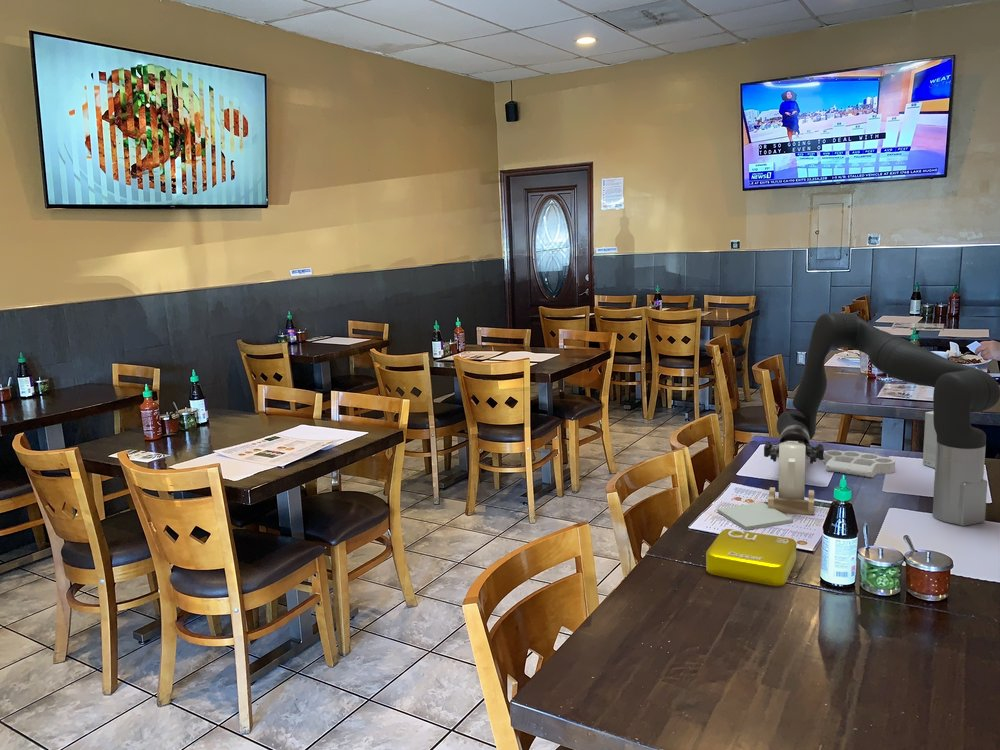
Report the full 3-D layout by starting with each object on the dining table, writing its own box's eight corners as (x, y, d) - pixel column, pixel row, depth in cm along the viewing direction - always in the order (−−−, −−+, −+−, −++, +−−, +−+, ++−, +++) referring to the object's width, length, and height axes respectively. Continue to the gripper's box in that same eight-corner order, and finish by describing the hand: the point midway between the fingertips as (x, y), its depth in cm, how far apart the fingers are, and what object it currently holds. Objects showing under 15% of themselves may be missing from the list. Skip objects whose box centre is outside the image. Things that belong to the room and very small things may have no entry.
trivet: (792, 522, 170) (792, 518, 170) (746, 530, 167) (746, 526, 167) (761, 504, 182) (761, 501, 181) (717, 512, 179) (717, 508, 178)
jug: (778, 499, 184) (779, 440, 182) (804, 501, 182) (805, 441, 180) (777, 513, 176) (778, 451, 173) (804, 515, 174) (805, 453, 171)
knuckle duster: (813, 471, 205) (831, 457, 216) (885, 482, 193) (900, 467, 204) (813, 459, 204) (831, 446, 215) (885, 470, 193) (900, 455, 203)
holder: (769, 498, 185) (770, 487, 185) (813, 502, 181) (814, 490, 181) (768, 511, 177) (768, 499, 177) (813, 514, 174) (814, 502, 173)
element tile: (703, 574, 148) (703, 551, 147) (723, 546, 161) (723, 525, 160) (783, 589, 140) (783, 565, 139) (797, 558, 153) (798, 536, 152)
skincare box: (939, 470, 199) (942, 416, 196) (921, 464, 204) (923, 411, 202) (964, 466, 201) (967, 412, 198) (945, 460, 207) (948, 407, 204)
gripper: (766, 426, 203) (762, 442, 189) (823, 429, 198) (824, 445, 183) (766, 453, 205) (762, 471, 190) (823, 456, 199) (823, 475, 184)
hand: (793, 458), depth 186 cm, fingers open, 8 cm apart
